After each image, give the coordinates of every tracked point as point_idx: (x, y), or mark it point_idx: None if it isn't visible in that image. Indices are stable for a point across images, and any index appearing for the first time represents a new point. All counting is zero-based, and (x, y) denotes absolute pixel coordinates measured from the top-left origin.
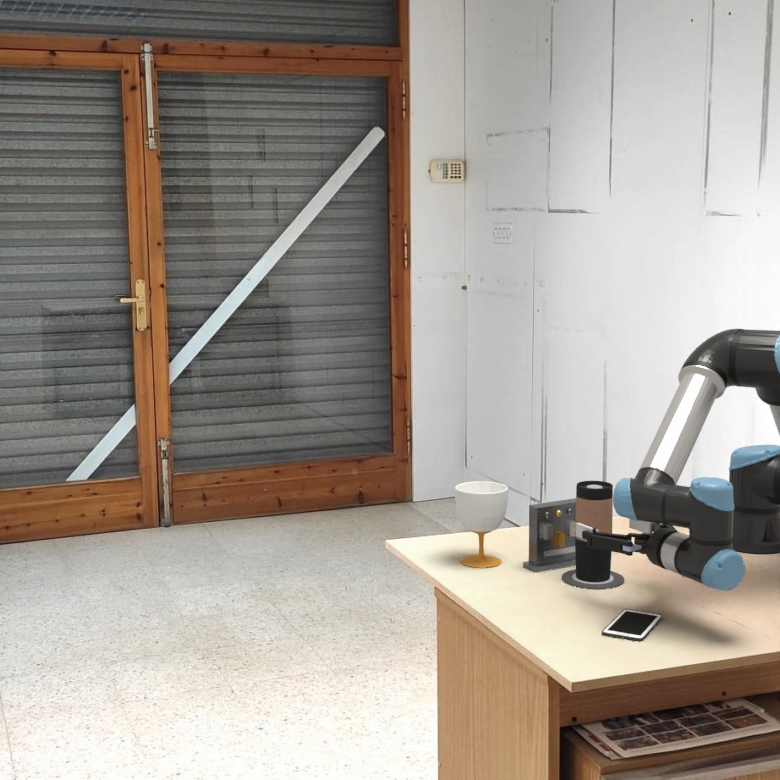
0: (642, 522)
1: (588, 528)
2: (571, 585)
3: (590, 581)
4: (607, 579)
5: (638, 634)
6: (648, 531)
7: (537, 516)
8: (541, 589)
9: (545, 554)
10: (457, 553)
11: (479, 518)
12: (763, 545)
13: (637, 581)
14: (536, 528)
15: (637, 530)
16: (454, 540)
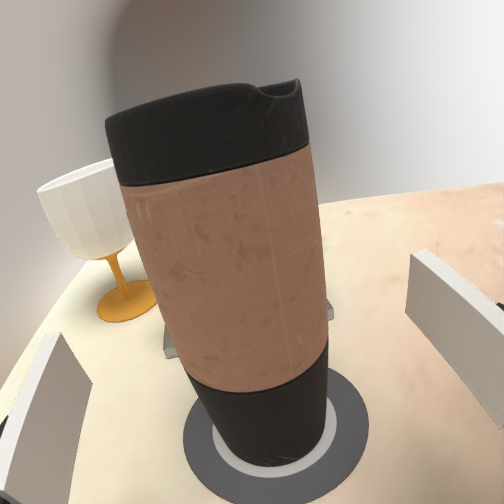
0: (480, 334)
1: (9, 422)
2: (186, 456)
3: (242, 459)
4: (303, 456)
5: None
6: (501, 408)
7: (133, 234)
8: (105, 451)
9: None
10: (130, 272)
11: (62, 238)
12: None
13: (404, 453)
14: (143, 264)
15: (440, 353)
16: None
